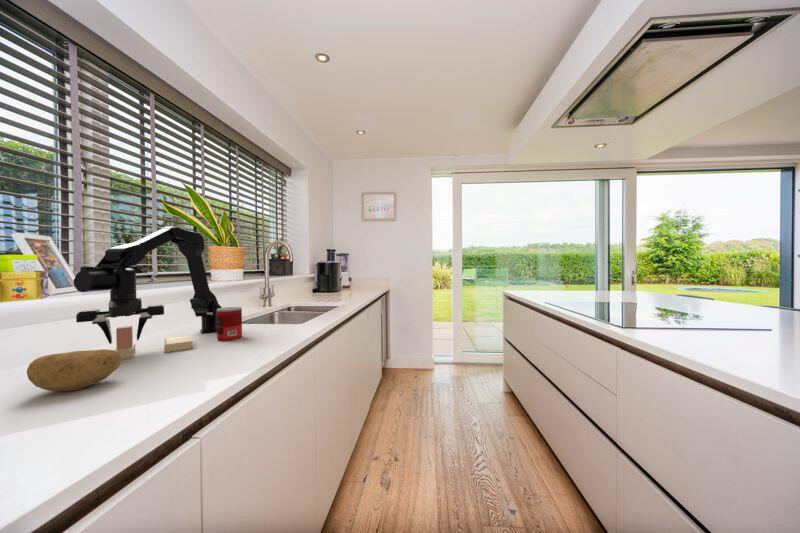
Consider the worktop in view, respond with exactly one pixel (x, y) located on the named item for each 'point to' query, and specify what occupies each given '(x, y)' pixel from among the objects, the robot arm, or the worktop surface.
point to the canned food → (229, 323)
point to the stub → (125, 341)
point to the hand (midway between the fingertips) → (124, 341)
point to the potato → (73, 369)
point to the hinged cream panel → (178, 343)
